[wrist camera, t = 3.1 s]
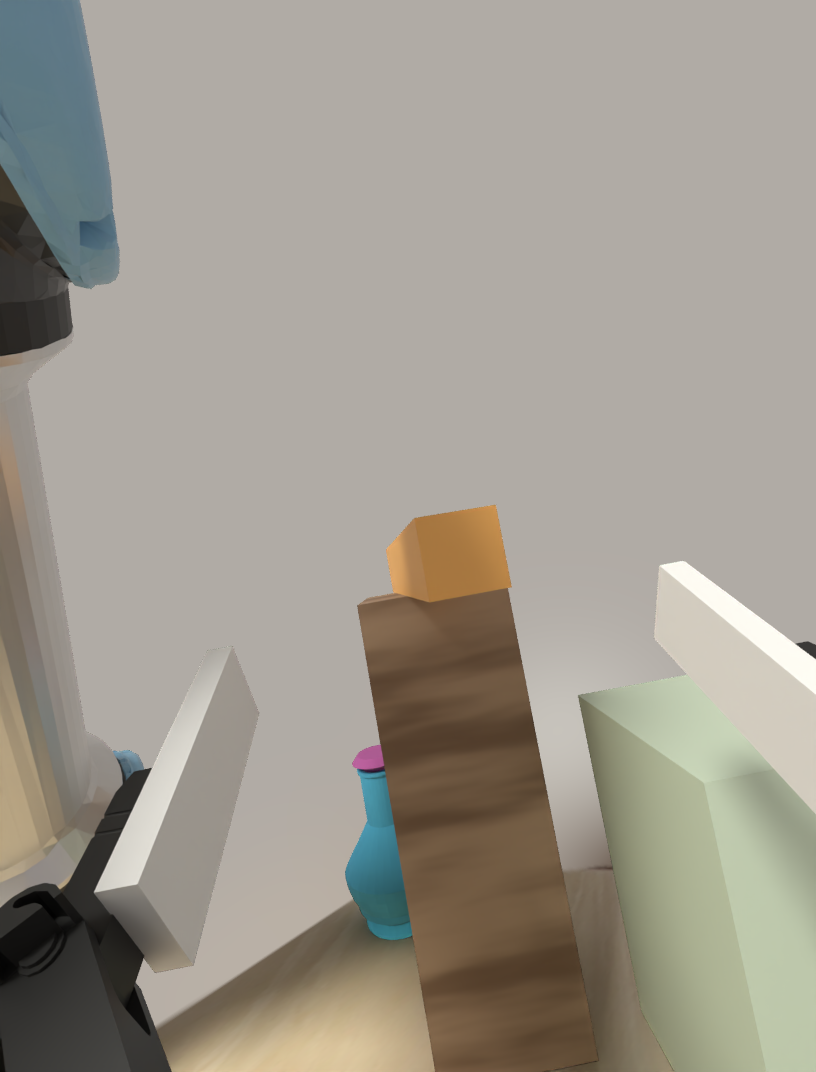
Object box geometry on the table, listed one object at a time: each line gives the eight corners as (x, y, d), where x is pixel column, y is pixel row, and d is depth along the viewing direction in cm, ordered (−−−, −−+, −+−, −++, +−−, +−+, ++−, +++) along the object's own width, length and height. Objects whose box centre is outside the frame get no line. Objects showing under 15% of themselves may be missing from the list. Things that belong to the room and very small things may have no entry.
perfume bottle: (335, 918, 46) (311, 760, 47) (410, 868, 52) (386, 728, 53) (390, 970, 39) (359, 782, 40) (469, 905, 44) (440, 743, 45)
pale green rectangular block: (1032, 1310, 18) (892, 746, 20) (828, 1355, 18) (703, 782, 19) (757, 987, 32) (688, 674, 34) (641, 1011, 32) (578, 695, 33)
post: (598, 1060, 29) (505, 578, 31) (438, 1092, 29) (357, 605, 31) (549, 936, 39) (481, 577, 41) (430, 960, 39) (368, 597, 41)
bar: (511, 587, 22) (495, 504, 23) (429, 602, 22) (414, 518, 22) (435, 584, 44) (427, 542, 45) (393, 592, 44) (385, 549, 44)
